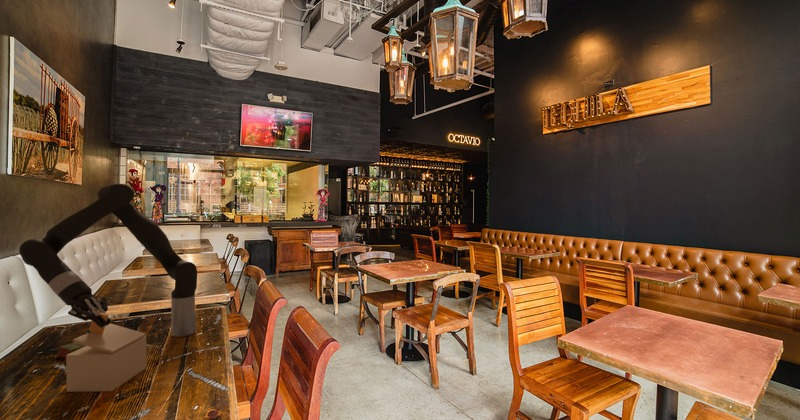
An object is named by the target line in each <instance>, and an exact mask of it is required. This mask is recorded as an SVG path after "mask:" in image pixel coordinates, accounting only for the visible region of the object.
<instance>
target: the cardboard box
mask: <svg viewBox="0 0 800 420" xmlns="http://www.w3.org/2000/svg"><path fill="white" fill-rule="evenodd" d="M65 361H66V392H68V393H69V392H113V391H114V390H116V389H117V388H118V387H119V388H120V386H122V385H123V384H125V383H126V382H128V381H129V380H131V379H133V378H134V377H135V376H137V375H138V374H140V373H141V372H142V371H145V370H146V369H147V335H145V336H144V337H142V338H140V339H139V340H137V341H135V342H133V343H131V344H129V345H127V346H125V347H124V348H122V349H120V350H118V351H116V352H114V353H110V352H106V351H103V350H99V349H96V348H92V347H89V346H85V347H83V348H81V349H79V350H76V351H74V352H72V353H70V354H68V355H66V358H65Z"/></svg>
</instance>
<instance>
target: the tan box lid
mask: <svg viewBox="0 0 800 420" xmlns="http://www.w3.org/2000/svg"><path fill="white" fill-rule="evenodd" d="M97 313H98V314H99V315H100V316H101V317H102V318H103V319H104V320H105V321H106V322H107V319H108V317H109V315H110V314H108V313H106V312H105V313H102V312H99V311H97ZM99 315H98V316H99ZM88 331H89V332H87V333H85V334H83V335H80V336H78V337H76V338H73V339H72V343H73V342H75V343H79V344H82V345H86V346H89V347H92V348H96V349H99V350H103V351H106V352H110V353H114V352H116V351H118V350H120V349H122V348H124V347H125V346H127V345H129V344H131V343H133V342H135V341H137V340H139V339H140V338H142V337H144V336H147V334H146V333H145V332H141V331H139V330H138V331H137V330H134V329H130V328H128V327H125V326H124V327H123V326H120V325H116V324H114V323H110V324H109V325H107V326H104V327H102V328H101V327H99V326H98V325H97V324H96V323H95V322H94V321H91V322H90V325H89V329H88Z"/></svg>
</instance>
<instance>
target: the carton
mask: <svg viewBox="0 0 800 420" xmlns="http://www.w3.org/2000/svg"><path fill="white" fill-rule="evenodd" d="M85 346H86V345H82V344H79V343H75V342H73V341H72V342H71V343H67V344H64V345H60V346H58V353H57V355H58V358H59V357H60V358H64V359H66V355H68V354H70V353H72V352H74V351H76V350H79V349H81V348H83V347H85Z"/></svg>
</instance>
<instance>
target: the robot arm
mask: <svg viewBox="0 0 800 420" xmlns="http://www.w3.org/2000/svg"><path fill="white" fill-rule="evenodd" d="M134 197H135V192H134V189H133V188H132V187H131V186H130V185H128V184H125V183H119V182H118V183H112V184H108V185H104V186H102V187H100V188H99V190H98V192H97V198H98V199H97V200H95V201H94V202H92V203H91V204H90V205H88V206H86V207H84V208H82V209H80V210H79V211H76V212H75V213H73V214H71V215H69V216H68V217H66V218H64V219H63V220H61V221H59V222H58V223H57V224H55V225H54V226H52V227H51V228H49V229H48V230H47V231H46V235H45V236H44V237H43V238H42V239H39V238H31V239H28V240H25V241H23V243H21V245H20V246H19V250H18V251H19V255H20V257H21V258H22V261H23V262H24V263H25V264H26V265H28V266H30V267H33V268H35V270H36V271H37V274H38V275H39V277H40V278H41V279H42V280H43V281H44V282H45V283H46V284H47V285H48V286H49V288H50V289H51V290H52V292H53V293H54V294H56V296H57V297H58V298H60V300H61V301H62V302H63V303H65V305H67V306H70V310H69V311H68V312H67V315H70V316H73V317H75V318H76V319H80V320H82V321H85V322H87V321H91V322H92V321H94V322H95V323H96V324H97V325H98V326H99V327H101V328H102V327H104V326H107V325H109V324H112V320H111V318H110V317H109V316H108V319H107V322H106V321H105V320H104V319H103V318H102V317H101V316H100V315H99V314H98V313H97V311H98V312H102V313H105V314H106V313H107V312H108V311H109V307H108V303H107V298H106V297H102V298H98V297H97V296H95V295H94V294H92V291H93V289H92V288H91V287H90V286H89V285H88V284H87V282H85V281H84V280H83V279H82V278H81V277H80V276H79V275H78V274H76V272H74V271H73V270H72V269H71V268H70V267H69V266H68V265H67V264H66V263H65V262H64V261H63V260H61V258H60V257H59V256H58V254H59V253H60V252H61V251H62V250H63V248H65V247H66V246H67V244H69V243H70V242H72V241H73V240H74V239H76V238H77V237H78V236H80V235H81V234H83V233H84V232H86V231H87V230H88V229H90V228H91V227H92V226H93V225H95V224H96V223H98V222H100V220H103V219H104V218H105V217H107V216H108V215H110V214H113V215H114V216H115V217H116V218H118V220H119V221H120V222H121V223H122V224H123V225H124V226H125V228H126V229H127V230H128V231H129V232H130V233H131V235H133V236H134V238H136V240H137V241H138V242H139V243H140V244H141V245H142V247H143V248H144V249H145V250H147V252H149V253H150V255H151V256H153V257H154V258H155V259H156V260H157V261H158V262H159V263H160V265H161V266H162V268H163V269H164V271H165V272H166V273H167V274H168V276H169V277H170V278H171V279H172V280H174V282H175V283H174V289H173V290H171V294H170V295H171V296H170V297H171V303H170V304H171V307H170V308H171V318H170V319H171V330H170V331H171V336H172V337H174V338H180V337H186V336H187V337H188V336H190V335H194V334H196V333H197V330H196V329H197V328H196V321H197V319H196V290H197V286H198V268H197V265H195V264H194V263H193V262H192V261H191V262H190V261H186V260H184V259H183V258H181V257H180V256H179V254H177V253H176V252H175V251H174V249H173V248H172V246H171V242H170V240H169V238H168V236H167V234H166V233H165V232H164V231H163V230H162V229H161V228H160V226H159V225H158V224H157V223H156V222H154V220H152V219H150V218H149V217H147V216H146V215H144V214H143V213H141V212H140V211H139V210H137V209H136V208H135V206H133V205H132V203H131V202H132V201H133V200H134ZM98 315H99V316H98Z"/></svg>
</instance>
